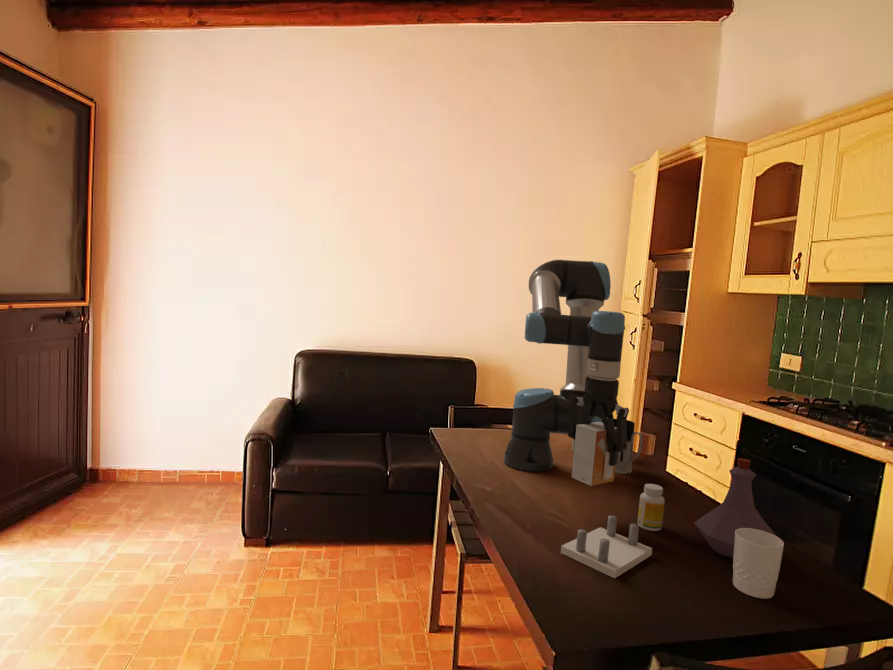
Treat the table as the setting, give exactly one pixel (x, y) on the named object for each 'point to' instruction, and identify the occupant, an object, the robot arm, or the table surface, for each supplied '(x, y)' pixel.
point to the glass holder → (627, 450)
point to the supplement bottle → (651, 508)
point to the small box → (590, 454)
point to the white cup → (756, 562)
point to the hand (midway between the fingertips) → (593, 473)
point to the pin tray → (615, 553)
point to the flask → (733, 512)
